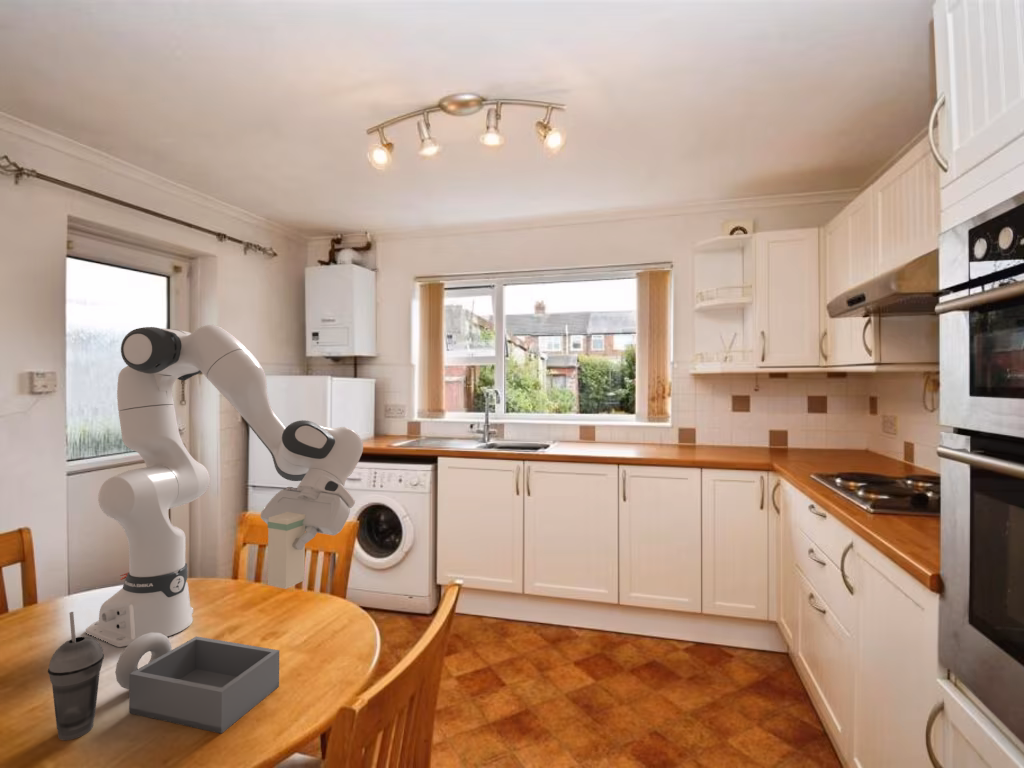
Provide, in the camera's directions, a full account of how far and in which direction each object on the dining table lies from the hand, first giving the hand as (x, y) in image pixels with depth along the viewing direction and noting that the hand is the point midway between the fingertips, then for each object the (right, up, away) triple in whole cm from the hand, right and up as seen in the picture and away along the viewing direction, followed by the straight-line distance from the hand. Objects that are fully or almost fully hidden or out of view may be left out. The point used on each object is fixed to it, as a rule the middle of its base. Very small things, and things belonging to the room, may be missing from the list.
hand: (284, 546), depth 107 cm
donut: (-24, -25, -8) cm, 35 cm away
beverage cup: (-26, -25, -20) cm, 41 cm away
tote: (-9, -25, -11) cm, 29 cm away
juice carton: (0, -8, +1) cm, 8 cm away
